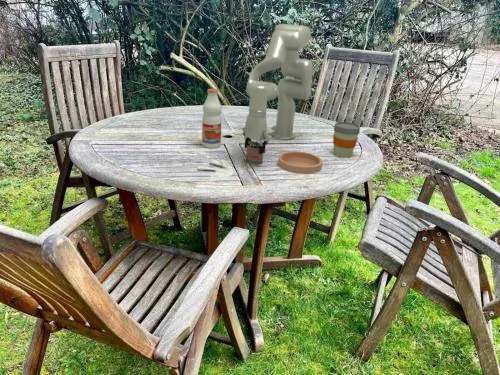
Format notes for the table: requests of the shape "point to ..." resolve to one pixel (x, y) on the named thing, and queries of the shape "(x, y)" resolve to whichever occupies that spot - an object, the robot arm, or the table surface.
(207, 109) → the fruit juice
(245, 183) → the table surface
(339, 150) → the reusable coffee cup
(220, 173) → the cream glove
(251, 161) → the lighter
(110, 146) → the table surface
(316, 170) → the round bowl
